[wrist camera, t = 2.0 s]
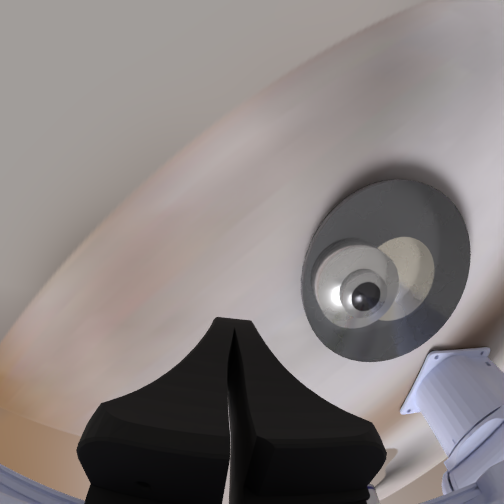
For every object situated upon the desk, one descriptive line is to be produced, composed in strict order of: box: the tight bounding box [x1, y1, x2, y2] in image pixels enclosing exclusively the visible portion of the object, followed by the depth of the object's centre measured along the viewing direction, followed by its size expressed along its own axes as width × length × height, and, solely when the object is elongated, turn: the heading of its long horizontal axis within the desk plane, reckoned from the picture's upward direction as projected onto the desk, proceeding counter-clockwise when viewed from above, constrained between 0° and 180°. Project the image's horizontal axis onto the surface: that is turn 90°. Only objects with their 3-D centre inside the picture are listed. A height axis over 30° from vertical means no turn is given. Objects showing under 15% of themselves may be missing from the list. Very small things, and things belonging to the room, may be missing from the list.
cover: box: [310, 237, 399, 328], centre depth 18 cm, size 5×5×3 cm
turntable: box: [301, 179, 470, 362], centre depth 21 cm, size 14×14×2 cm
